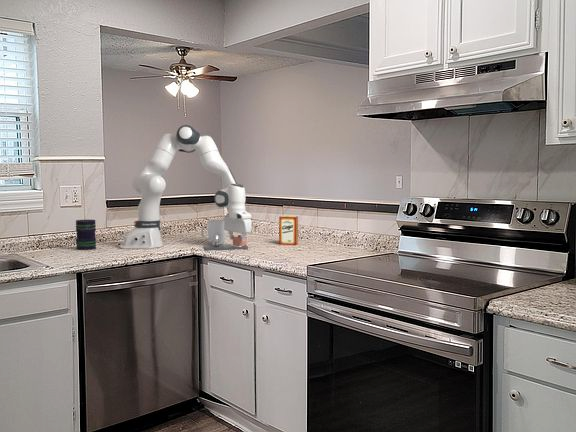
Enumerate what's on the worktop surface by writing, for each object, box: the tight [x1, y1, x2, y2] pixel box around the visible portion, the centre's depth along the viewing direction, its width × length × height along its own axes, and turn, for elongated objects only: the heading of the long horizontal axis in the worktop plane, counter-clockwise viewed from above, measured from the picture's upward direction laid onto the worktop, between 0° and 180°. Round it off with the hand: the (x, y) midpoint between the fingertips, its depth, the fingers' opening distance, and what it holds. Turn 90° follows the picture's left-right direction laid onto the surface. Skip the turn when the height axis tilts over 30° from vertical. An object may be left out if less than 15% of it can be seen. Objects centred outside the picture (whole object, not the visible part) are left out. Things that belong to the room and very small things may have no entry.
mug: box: [200, 219, 228, 245], centre depth 316 cm, size 15×11×13 cm
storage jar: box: [75, 219, 97, 251], centre depth 295 cm, size 10×10×15 cm
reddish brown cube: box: [232, 234, 248, 246], centre depth 301 cm, size 5×5×5 cm
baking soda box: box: [278, 214, 299, 246], centre depth 315 cm, size 10×6×16 cm
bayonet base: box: [204, 235, 249, 251], centre depth 299 cm, size 22×12×7 cm, turn 102°
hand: (237, 240), depth 300 cm, fingers open, 8 cm apart
